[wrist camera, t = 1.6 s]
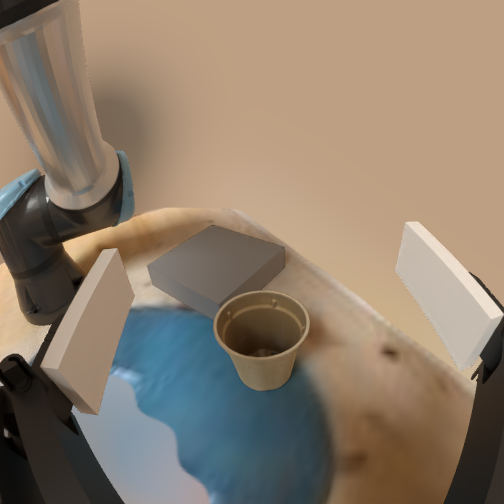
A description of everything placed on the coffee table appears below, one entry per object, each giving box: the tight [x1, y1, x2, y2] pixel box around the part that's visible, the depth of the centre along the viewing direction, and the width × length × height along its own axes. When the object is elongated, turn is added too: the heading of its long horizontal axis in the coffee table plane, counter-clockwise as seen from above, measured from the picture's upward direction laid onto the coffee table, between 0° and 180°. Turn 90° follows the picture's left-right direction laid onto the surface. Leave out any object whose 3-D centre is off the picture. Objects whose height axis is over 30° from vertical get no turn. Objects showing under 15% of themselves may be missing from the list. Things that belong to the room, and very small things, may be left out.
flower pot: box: [213, 290, 310, 391], centre depth 30 cm, size 9×9×9 cm
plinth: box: [147, 225, 285, 320], centre depth 48 cm, size 16×16×4 cm
